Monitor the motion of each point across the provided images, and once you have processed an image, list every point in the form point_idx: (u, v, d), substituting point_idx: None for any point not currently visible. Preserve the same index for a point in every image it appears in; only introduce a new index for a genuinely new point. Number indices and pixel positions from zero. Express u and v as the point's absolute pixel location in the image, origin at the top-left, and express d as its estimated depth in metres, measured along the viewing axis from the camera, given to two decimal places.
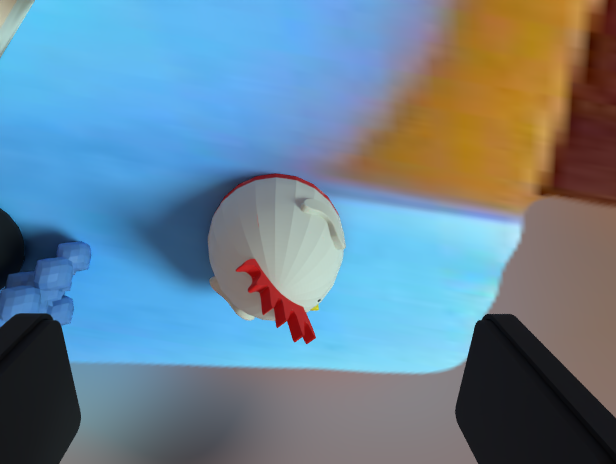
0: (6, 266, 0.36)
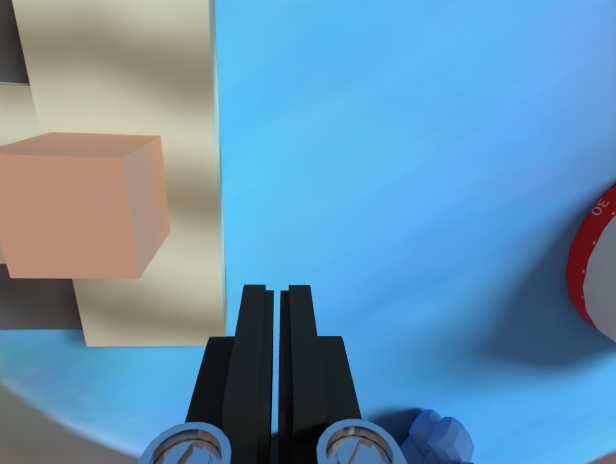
0: None
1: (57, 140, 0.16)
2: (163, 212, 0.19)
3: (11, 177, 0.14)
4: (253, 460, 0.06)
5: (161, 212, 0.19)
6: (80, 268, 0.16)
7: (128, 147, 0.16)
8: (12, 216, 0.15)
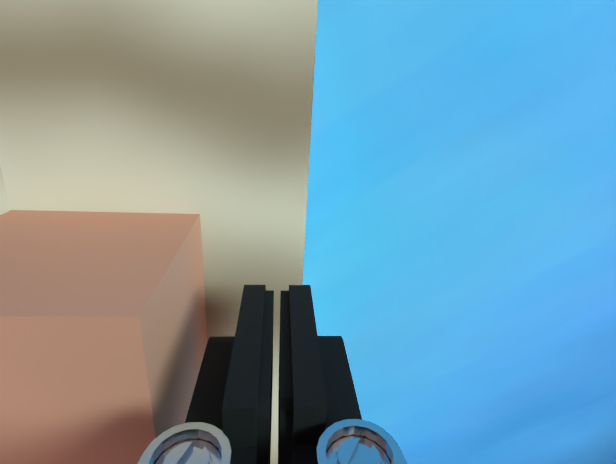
0: None
1: (12, 241, 0.09)
2: (201, 339, 0.11)
3: None
4: (253, 460, 0.06)
5: (199, 342, 0.11)
6: None
7: (148, 262, 0.08)
8: None
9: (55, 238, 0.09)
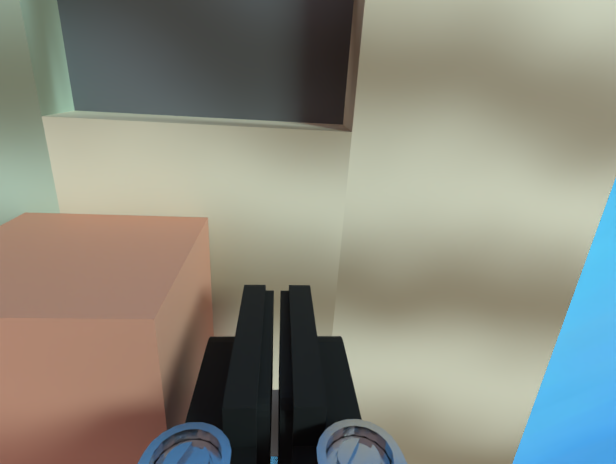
0: None
1: (28, 243, 0.09)
2: None
3: None
4: (253, 460, 0.06)
5: (206, 342, 0.11)
6: None
7: (160, 265, 0.08)
8: None
9: (69, 241, 0.09)
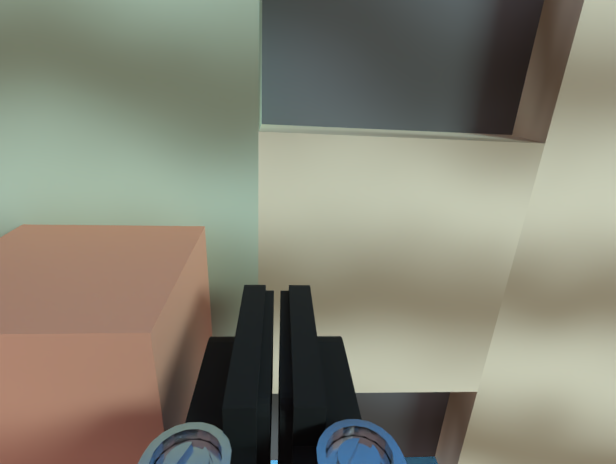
0: None
1: (26, 257, 0.09)
2: None
3: None
4: (253, 460, 0.06)
5: None
6: None
7: (157, 277, 0.08)
8: None
9: (66, 253, 0.09)
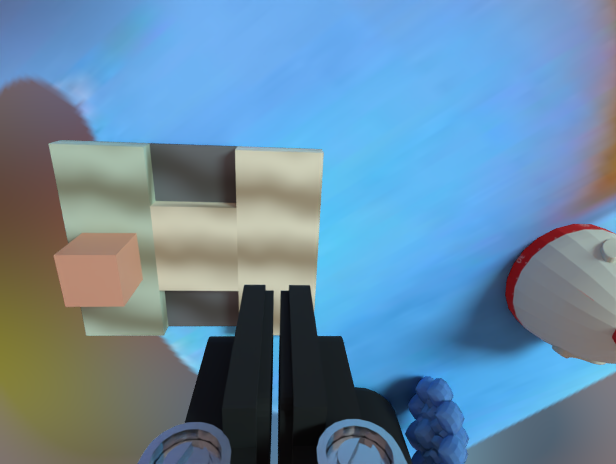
0: (398, 425, 0.46)
1: (86, 241, 0.35)
2: (138, 270, 0.38)
3: (68, 264, 0.33)
4: (253, 460, 0.06)
5: (137, 271, 0.37)
6: (97, 302, 0.34)
7: (119, 245, 0.34)
8: (67, 280, 0.33)
9: (96, 240, 0.35)
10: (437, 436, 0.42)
